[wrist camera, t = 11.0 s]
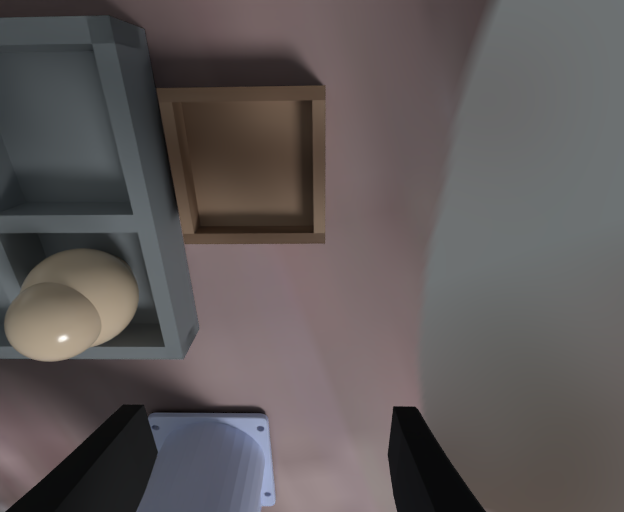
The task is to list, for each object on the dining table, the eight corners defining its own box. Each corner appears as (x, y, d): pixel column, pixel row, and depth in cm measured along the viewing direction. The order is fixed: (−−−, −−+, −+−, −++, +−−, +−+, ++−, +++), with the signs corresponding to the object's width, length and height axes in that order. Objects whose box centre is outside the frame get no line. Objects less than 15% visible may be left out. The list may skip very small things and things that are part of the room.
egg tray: (199, 328, 20) (183, 359, 18) (-48, 328, 21) (-95, 358, 18) (144, 29, 14) (108, 15, 12) (-208, 36, 14) (-312, 24, 12)
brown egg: (162, 311, 19) (103, 391, 14) (80, 311, 19) (-9, 391, 14) (144, 233, 17) (68, 292, 12) (53, 233, 17) (-62, 293, 12)
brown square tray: (324, 228, 17) (325, 243, 16) (198, 228, 18) (184, 243, 16) (324, 86, 15) (325, 85, 13) (176, 89, 15) (156, 88, 13)
